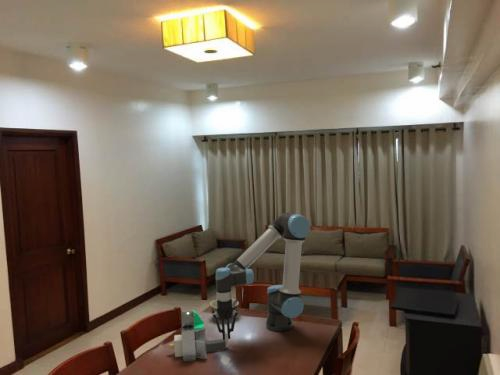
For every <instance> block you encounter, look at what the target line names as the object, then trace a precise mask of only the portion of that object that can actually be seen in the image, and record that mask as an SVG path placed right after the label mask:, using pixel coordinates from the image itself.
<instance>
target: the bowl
mask: <svg viewBox="0 0 500 375" xmlns="http://www.w3.org/2000/svg"><path fill="white" fill-rule="evenodd" d="M231 299H232V308H233V310H234V311H237V312H238V314H239V312H240V310H239V304H240V302H239V300H238V299H237V298H236V299H235V298H233V297H232V298H231ZM209 305H210V307H211V310H210V311H211V312H210V313H211V314H212V315H213V313H215V312H217V298H216V299H214V300H212V301H210V303H209ZM217 315H218V314H217ZM217 318H218V319H219V320H222V318H221V317H220V316H219V315H218V316H217ZM230 318H233V313H232V314H231V316H230V317H229V319H230ZM224 320H227V318H224Z"/></svg>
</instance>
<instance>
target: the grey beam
mask: <svg viewBox="0 0 500 375" xmlns="http://www.w3.org/2000/svg"><path fill="white" fill-rule="evenodd" d="M173 338H174V339H173V343H168V346H167V347H168V350H174V357H175V358H177V357H183V347H182V334H174V336H173ZM204 342H206V350H207V353H212V352H219V351H226V350H227V346H226V343H225V340H223V338H220V339H212V340H206V341H204Z"/></svg>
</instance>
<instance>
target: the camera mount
mask: <svg viewBox="0 0 500 375" xmlns="http://www.w3.org/2000/svg"><path fill="white" fill-rule="evenodd" d="M191 311H193V313H194V326H195V331H196V330H199V329H202V328H205V322H204V320H203V319H202V318H201V317H200V315H199V314H198V313H197V311H196V310H191Z"/></svg>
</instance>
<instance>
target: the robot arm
mask: <svg viewBox="0 0 500 375" xmlns="http://www.w3.org/2000/svg"><path fill="white" fill-rule="evenodd" d="M310 230H311V224H310V221H309V220H308V218H307V217H306V216H305V215H302V214H299V213H293V212H284V213H282V214H280V215H279V216H278V217H276V218H275V219H274V220H273V221H272V222H271V223H270V224H269V225H268V229H266V231H264V232H263V233H262V234H261V235H260V236H259V237H258V238H257V239H256V240H255V241H254V242H253V243H252V244H251V245H250V246H249V247H248V248H247V249H246V250H245V251H243V253H241V255H239V257H238V258H236V260H235V261H234V262H231V263H228V264H227V265H226V266H225V267H219V268H217V269H216V270H215V286H216V288H215V289H216V299H217V312H215V311H214V312H215V313H213V314H212V318H213V320H215V323H216V327H217V330H218V332H219V334H221V335H222V339H223V340H225V343H226V347H229V340H230V339H231V333H232V332H234V331H235V330H234V329H235V325H236V319H237V316H238V314H239V313H238V312H237V311H236V310H233V308H232V299H231V298H233V296H232V295H233V294H232V287H238V286H244V285H246V286H247V285H250V284H253V283H254V281H255V273H254V271H253V269H252V268H250V266H252V265H253V263H255V261H257V260H258V259H259V257H261V256H262V255H263V254H264V253H265V252H266V251H267V250H268V249H269V248H270V247H271V246H272V245H273V244H274V243H275V242H276V241H277V240H278V239H282V238H283V241H285V248H284V249H285V250H284V261H283V274H282V284H276V285H271V286H268V287H267V291H266V294H267V306H268V307H267V317H266V321H265V327H266V329H267V330H269V331H271V332H285V331H286V332H287V331H289V330H291V329H292V328H293V326H294V323H293V319H294V318H298V317H299V316H300V315H301V314H302V313H303V311H304V307H305V304H304V301H303V299H302V298H301V297H302V290H300V289H299V286H300V273H301V272H300V271H301V261H302V248H303V243H305V241H306V237H307V235H308V234H309V233H310ZM232 313H233V317H232V319H231V322H230V318H229V317H230V316H231V314H232ZM217 314H218V315H219V316H220V317H221V318H222V319H221V324H220V322H219V317H217V316H218V315H217ZM224 318H227V319H226V324H225V319H224ZM230 324H231V325H230ZM220 325H221V326H220ZM225 325H226V327H225ZM226 330H227V331H226Z"/></svg>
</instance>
